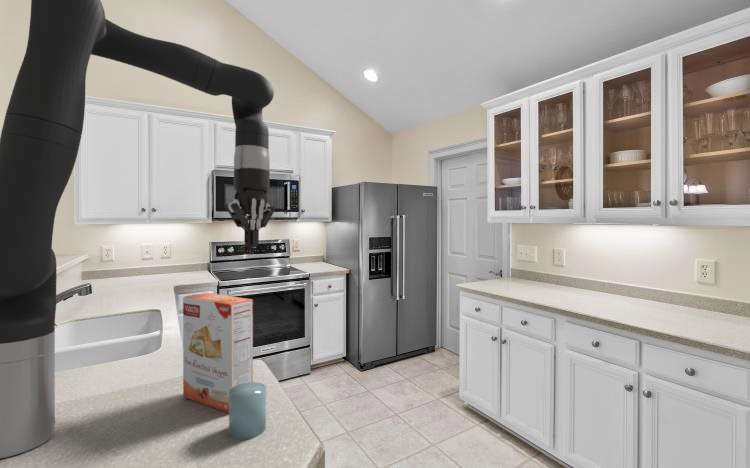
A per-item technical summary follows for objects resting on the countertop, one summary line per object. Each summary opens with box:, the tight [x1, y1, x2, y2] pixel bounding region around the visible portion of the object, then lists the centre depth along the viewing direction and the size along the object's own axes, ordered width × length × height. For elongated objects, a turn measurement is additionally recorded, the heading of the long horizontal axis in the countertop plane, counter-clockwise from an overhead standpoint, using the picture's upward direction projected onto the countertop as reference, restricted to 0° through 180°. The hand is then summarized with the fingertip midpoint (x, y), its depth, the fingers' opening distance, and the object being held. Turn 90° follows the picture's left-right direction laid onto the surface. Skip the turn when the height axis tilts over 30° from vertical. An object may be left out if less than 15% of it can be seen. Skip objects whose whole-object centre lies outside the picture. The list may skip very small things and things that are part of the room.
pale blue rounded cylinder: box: [228, 381, 267, 441], centre depth 63 cm, size 6×6×7 cm
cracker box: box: [182, 292, 254, 414], centre depth 73 cm, size 14×6×21 cm, turn 62°
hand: (251, 247), depth 81 cm, fingers closed
